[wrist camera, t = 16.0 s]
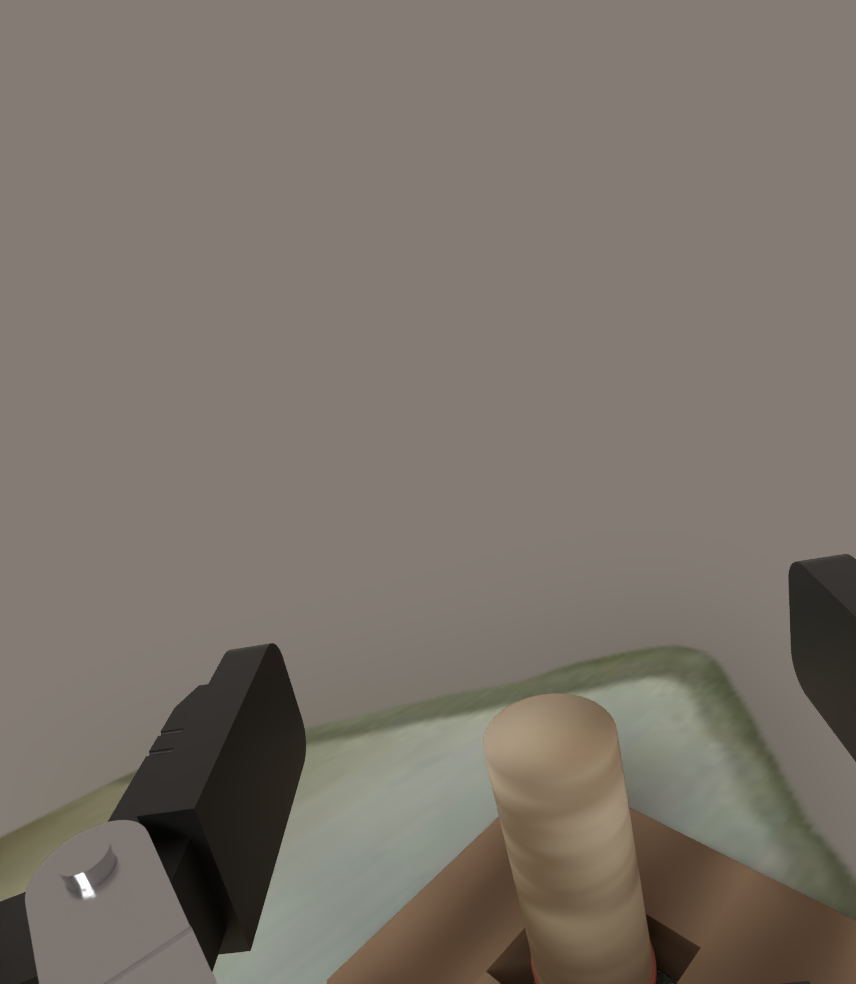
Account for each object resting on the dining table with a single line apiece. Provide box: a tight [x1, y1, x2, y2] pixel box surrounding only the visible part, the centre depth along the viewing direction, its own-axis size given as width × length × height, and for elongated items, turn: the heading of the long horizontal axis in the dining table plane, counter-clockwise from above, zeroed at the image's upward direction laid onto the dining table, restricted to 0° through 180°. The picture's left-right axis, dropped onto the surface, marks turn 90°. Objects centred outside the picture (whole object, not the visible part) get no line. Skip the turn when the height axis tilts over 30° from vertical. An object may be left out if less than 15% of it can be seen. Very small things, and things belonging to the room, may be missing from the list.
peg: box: [483, 694, 657, 984], centre depth 27 cm, size 5×5×14 cm
